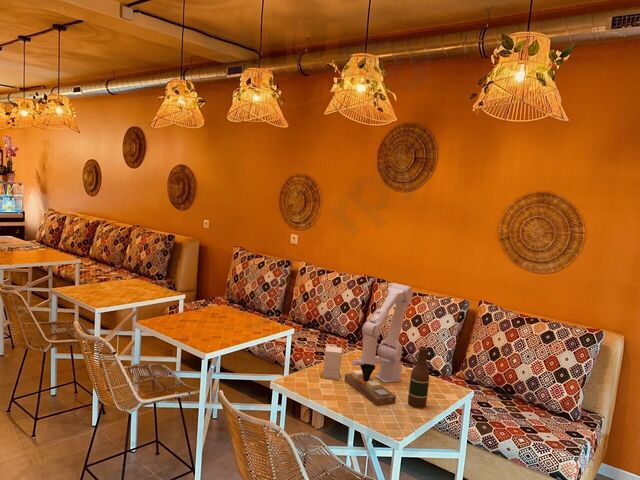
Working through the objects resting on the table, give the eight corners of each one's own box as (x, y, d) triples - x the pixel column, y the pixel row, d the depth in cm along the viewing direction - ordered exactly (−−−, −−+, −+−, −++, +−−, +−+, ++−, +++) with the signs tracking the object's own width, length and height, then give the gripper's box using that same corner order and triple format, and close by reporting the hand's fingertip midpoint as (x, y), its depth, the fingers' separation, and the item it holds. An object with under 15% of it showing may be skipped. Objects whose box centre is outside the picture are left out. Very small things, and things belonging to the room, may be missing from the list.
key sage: (374, 385, 206) (375, 380, 206) (380, 390, 202) (381, 384, 202) (366, 386, 204) (366, 381, 204) (371, 391, 200) (372, 385, 200)
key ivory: (360, 375, 216) (360, 370, 216) (365, 379, 212) (365, 373, 212) (351, 376, 214) (352, 370, 214) (356, 379, 210) (357, 374, 210)
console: (361, 378, 219) (362, 372, 219) (395, 403, 196) (396, 396, 196) (344, 380, 215) (345, 374, 215) (376, 406, 192) (377, 398, 192)
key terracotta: (366, 383, 211) (367, 378, 211) (372, 387, 207) (373, 381, 207) (358, 384, 209) (358, 378, 209) (363, 388, 205) (364, 382, 205)
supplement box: (339, 374, 222) (342, 347, 221) (338, 380, 215) (341, 352, 214) (323, 372, 223) (326, 345, 222) (322, 378, 216) (325, 350, 214)
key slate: (382, 394, 201) (382, 389, 200) (388, 399, 197) (389, 393, 196) (373, 395, 199) (374, 390, 198) (379, 400, 195) (380, 394, 194)
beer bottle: (422, 410, 192) (429, 352, 190) (404, 404, 196) (410, 347, 194) (428, 404, 199) (436, 347, 196) (411, 398, 203) (417, 343, 200)
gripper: (359, 354, 200) (356, 385, 201) (388, 352, 206) (385, 382, 208) (351, 348, 206) (347, 379, 207) (379, 346, 213) (376, 376, 214)
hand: (365, 380), depth 208 cm, fingers closed, pressing on key terracotta
